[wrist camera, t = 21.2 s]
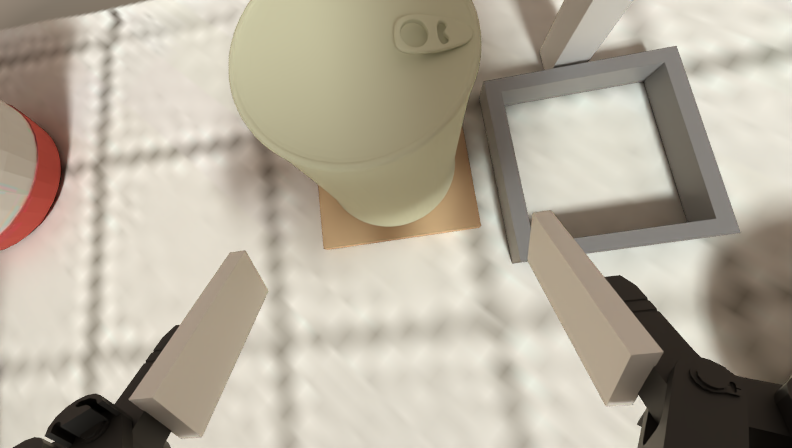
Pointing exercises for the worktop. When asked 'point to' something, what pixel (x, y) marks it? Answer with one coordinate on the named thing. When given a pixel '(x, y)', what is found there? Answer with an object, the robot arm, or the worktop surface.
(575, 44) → the socket
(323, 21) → the can
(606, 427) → the worktop surface
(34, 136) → the citrus juicer
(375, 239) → the plate
